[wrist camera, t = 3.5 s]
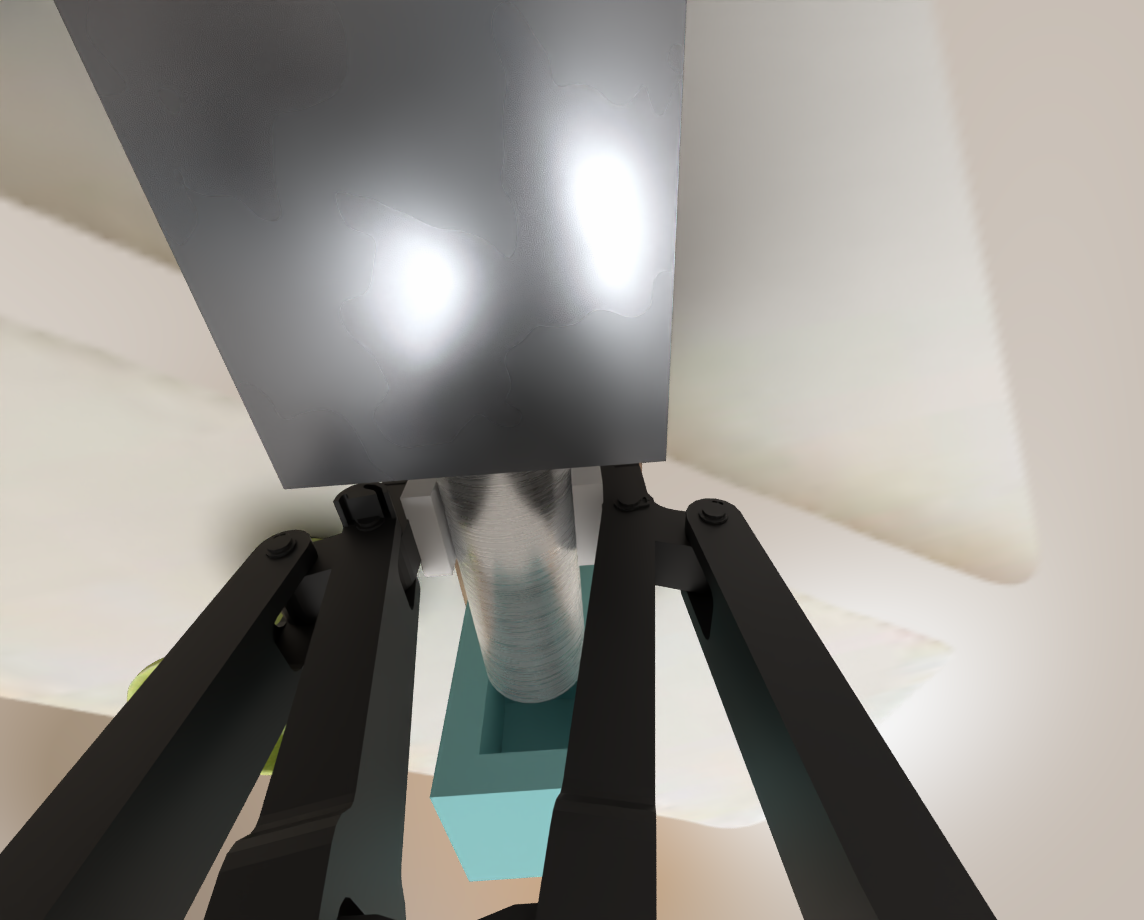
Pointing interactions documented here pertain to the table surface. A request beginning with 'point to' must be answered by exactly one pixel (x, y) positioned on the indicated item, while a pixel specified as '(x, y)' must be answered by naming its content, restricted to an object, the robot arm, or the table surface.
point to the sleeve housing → (415, 218)
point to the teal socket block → (500, 766)
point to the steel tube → (520, 576)
